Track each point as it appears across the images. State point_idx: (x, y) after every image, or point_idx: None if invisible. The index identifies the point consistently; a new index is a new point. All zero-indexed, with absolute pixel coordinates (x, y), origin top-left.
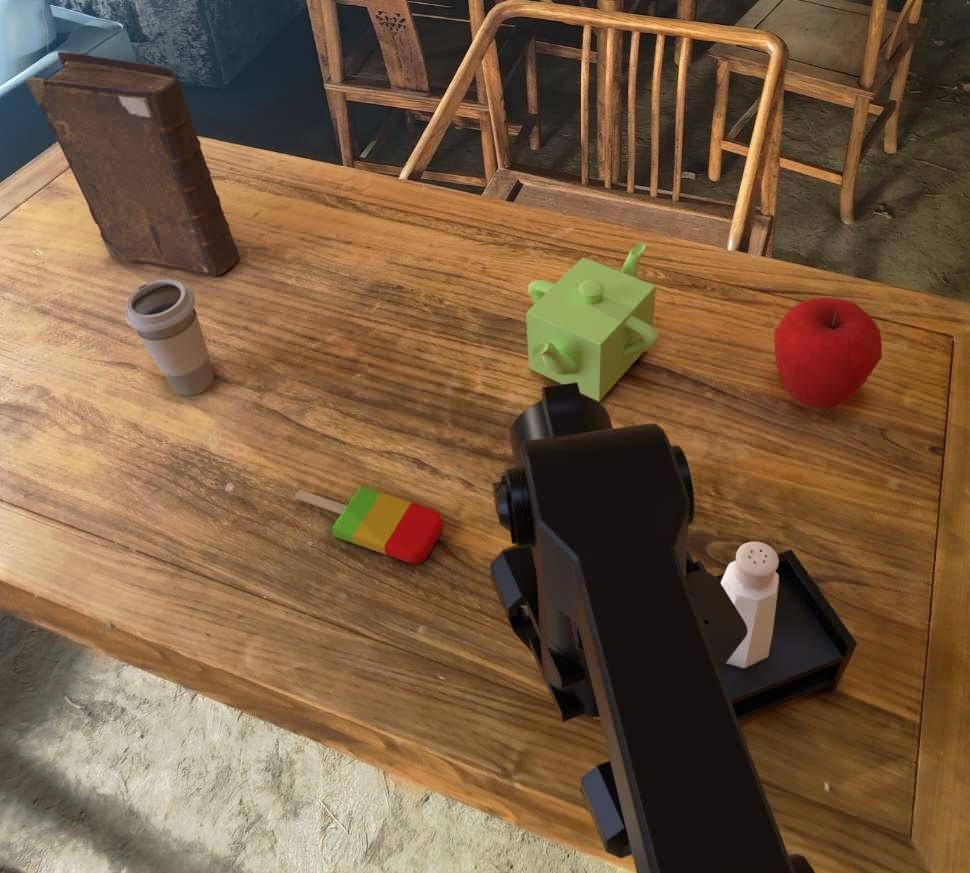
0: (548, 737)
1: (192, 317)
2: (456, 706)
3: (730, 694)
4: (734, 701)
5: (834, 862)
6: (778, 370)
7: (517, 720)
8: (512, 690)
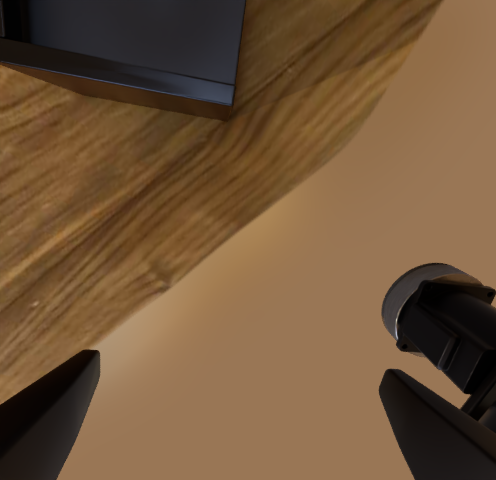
0: (148, 238)
1: None
2: (76, 303)
3: (235, 1)
4: (245, 5)
5: (414, 43)
6: None
7: (116, 257)
8: (79, 246)
